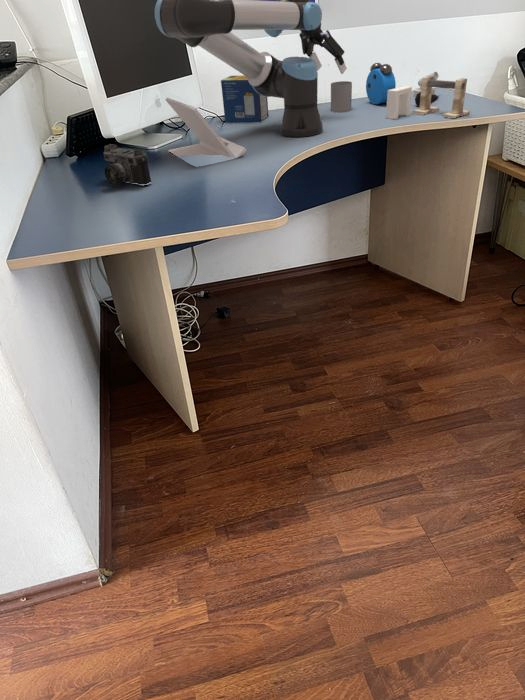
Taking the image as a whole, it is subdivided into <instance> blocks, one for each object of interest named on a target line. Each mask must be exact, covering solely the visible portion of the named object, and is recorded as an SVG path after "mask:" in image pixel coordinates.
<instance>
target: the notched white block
mask: <svg viewBox="0 0 525 700" xmlns="http://www.w3.org/2000/svg"><path fill="white" fill-rule="evenodd" d="M412 89H413V86H405V85H403V86H402V85H401V86H399V87H395V89H391V90H388V92H387V103H386V112H385V113H386V114H385V119H388V118H389V120H398V119H399V115H400V116H405V115H407V116H409V114H410V112H411V102H412V101H411V100H412Z"/></svg>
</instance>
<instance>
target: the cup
mask: <svg viewBox="0 0 525 700" xmlns="http://www.w3.org/2000/svg"><path fill="white" fill-rule="evenodd" d="M352 85H353V83H352V81H348V80H347V81H346V80H343V81H334V82H331V83H330V112H332V111H333V112H332V113H347V112H350V111H352V97H353V96H352V95H353V94H352V90H353V86H352ZM346 111H347V112H346Z"/></svg>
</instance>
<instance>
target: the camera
mask: <svg viewBox="0 0 525 700" xmlns="http://www.w3.org/2000/svg"><path fill="white" fill-rule="evenodd" d="M103 148H104V151H103V157H104V161H106V163H107V166H106V167H105V168H104V175H105V178H106V180H107V182H108V183H109V184H111V185H114V186H117V185H119V184H121V183H124V182H129V183H138V184H147V183H149V182H152V178H151V174H150V168H149V164H148V162H149V161H148V157H147V153H146V152H145V153H144V152H142V149H141V148H137V149H134V150H131V149H126V148H120V147H118V145H117V144H113V143H112V144H111V143H109V144H107V145H104V147H103Z"/></svg>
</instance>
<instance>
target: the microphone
mask: <svg viewBox="0 0 525 700" xmlns="http://www.w3.org/2000/svg"><path fill="white" fill-rule="evenodd" d="M420 96H421V92H419V93H418V94H417V95H416V97H414V103H415V105H416V106H417V107H420ZM438 98H439V96H438V95H437V94H434V95H431V101H432V102H434V101H437V99H438Z"/></svg>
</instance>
